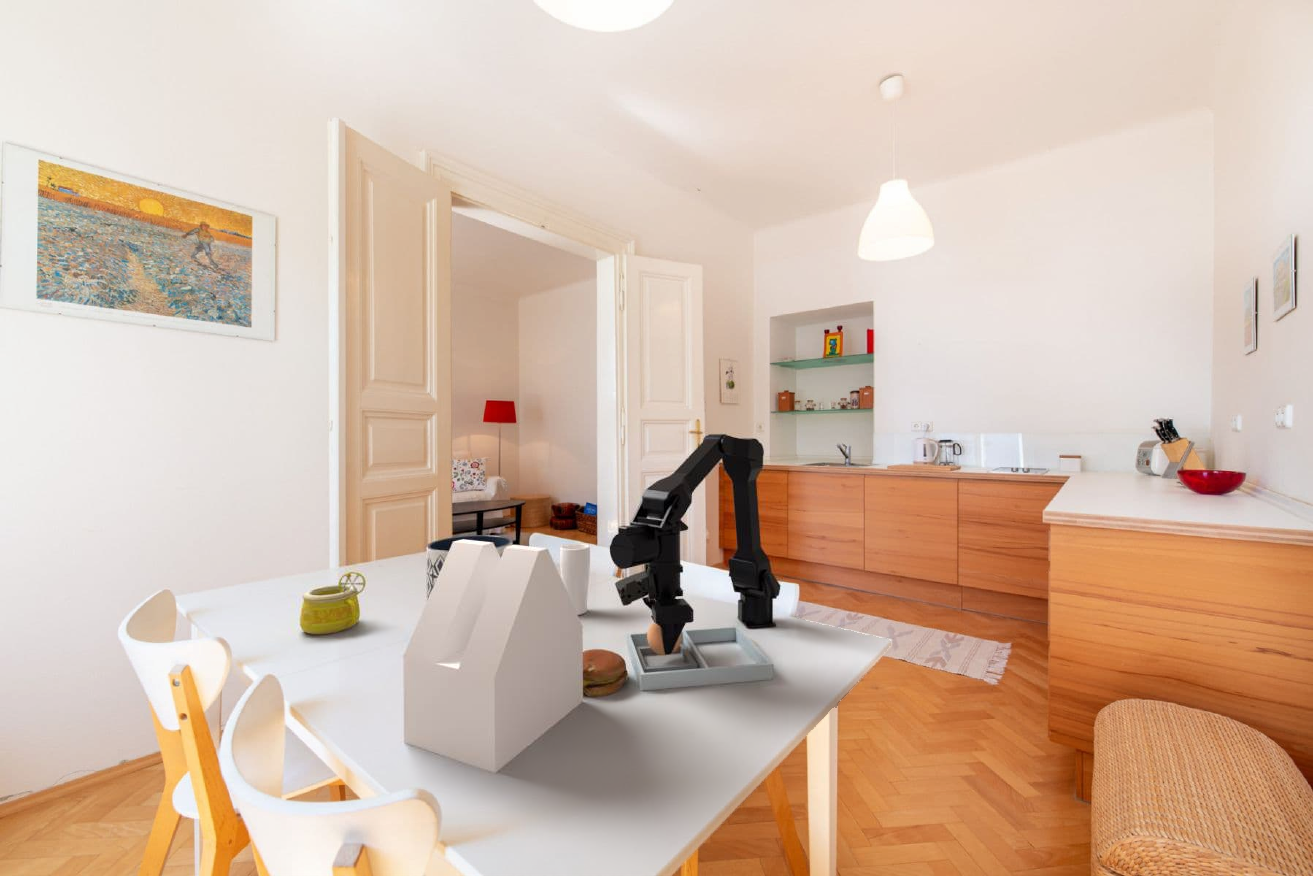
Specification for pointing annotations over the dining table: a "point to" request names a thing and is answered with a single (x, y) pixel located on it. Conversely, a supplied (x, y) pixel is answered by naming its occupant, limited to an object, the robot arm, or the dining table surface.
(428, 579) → the planter
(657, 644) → the ball
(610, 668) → the burger
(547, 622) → the slotted house block
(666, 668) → the square tray
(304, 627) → the mug
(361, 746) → the dining table surface
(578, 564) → the drinking glass
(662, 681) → the two compartment tray
